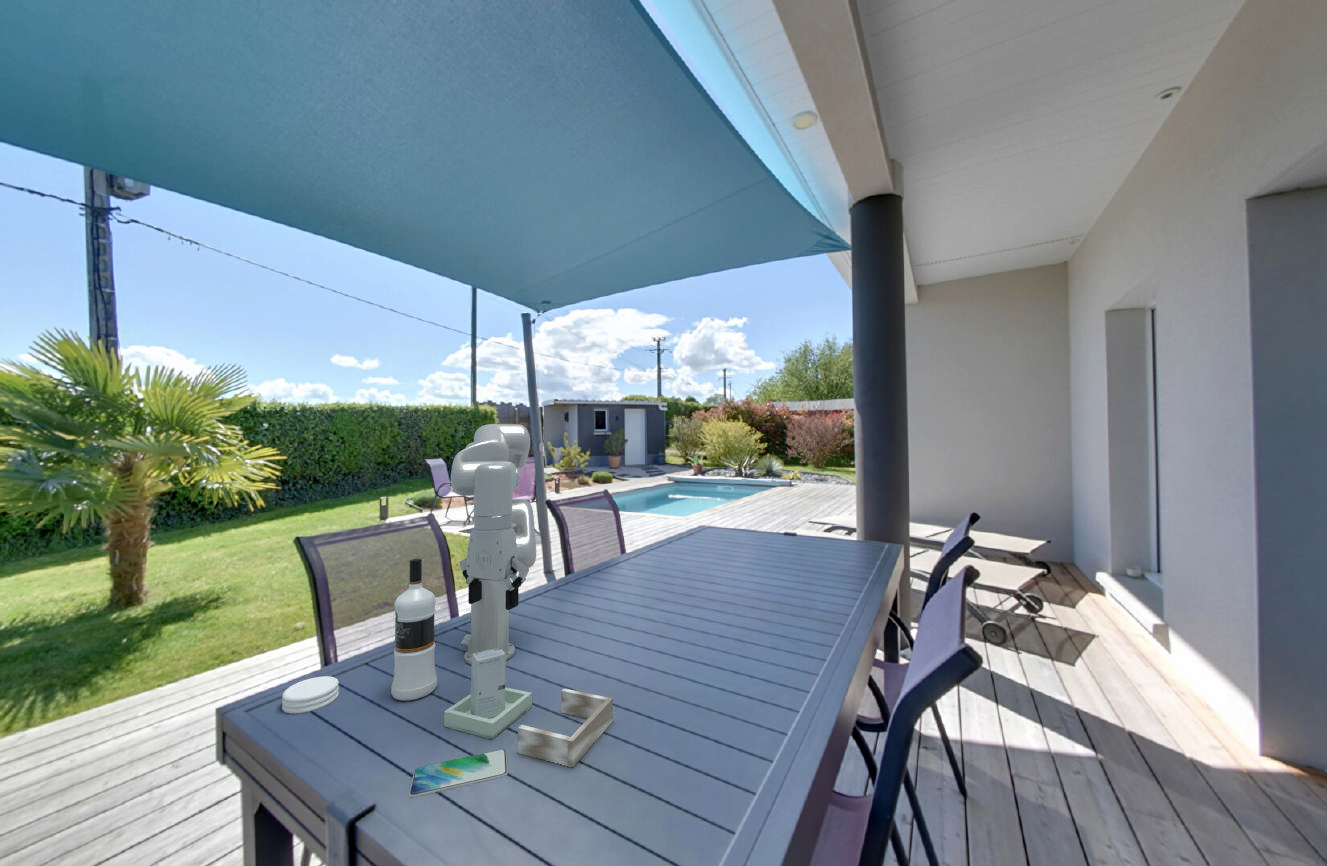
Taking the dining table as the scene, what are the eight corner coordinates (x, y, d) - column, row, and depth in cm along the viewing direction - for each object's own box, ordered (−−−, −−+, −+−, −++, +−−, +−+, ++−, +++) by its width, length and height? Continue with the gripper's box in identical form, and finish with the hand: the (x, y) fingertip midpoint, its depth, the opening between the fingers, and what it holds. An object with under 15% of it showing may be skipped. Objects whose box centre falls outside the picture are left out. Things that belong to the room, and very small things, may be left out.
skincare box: (475, 723, 95) (475, 661, 95) (469, 713, 99) (470, 653, 99) (506, 713, 99) (506, 653, 99) (500, 703, 102) (500, 646, 103)
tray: (444, 726, 95) (444, 711, 95) (486, 697, 106) (486, 683, 106) (492, 739, 91) (492, 723, 91) (531, 707, 102) (531, 693, 102)
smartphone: (507, 774, 81) (408, 796, 76) (507, 779, 81) (407, 802, 76) (506, 747, 88) (414, 767, 82) (506, 752, 88) (414, 772, 82)
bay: (517, 752, 87) (517, 727, 87) (563, 710, 101) (563, 688, 101) (572, 768, 83) (572, 741, 83) (612, 721, 97) (612, 698, 97)
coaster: (349, 695, 108) (349, 679, 108) (303, 718, 99) (303, 701, 99) (317, 687, 111) (318, 672, 111) (270, 710, 102) (270, 693, 102)
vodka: (437, 697, 106) (437, 561, 107) (389, 706, 103) (390, 565, 103) (437, 678, 115) (438, 552, 116) (393, 687, 111) (394, 556, 112)
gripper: (448, 523, 100) (447, 605, 100) (515, 528, 94) (514, 616, 93) (474, 517, 107) (474, 594, 107) (538, 522, 101) (538, 604, 100)
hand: (493, 604), depth 100 cm, fingers open, 9 cm apart
